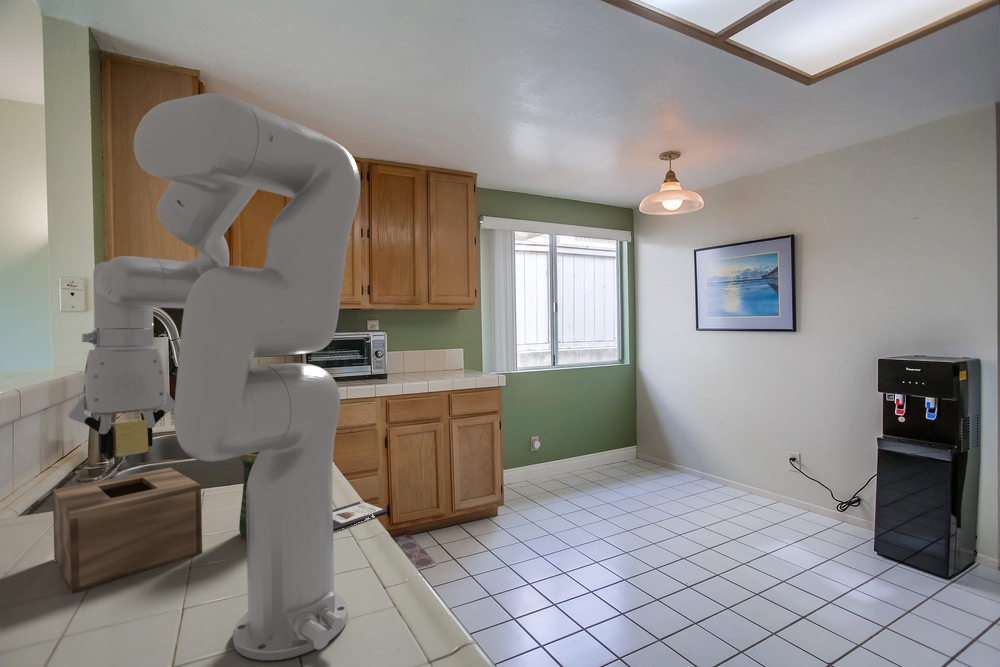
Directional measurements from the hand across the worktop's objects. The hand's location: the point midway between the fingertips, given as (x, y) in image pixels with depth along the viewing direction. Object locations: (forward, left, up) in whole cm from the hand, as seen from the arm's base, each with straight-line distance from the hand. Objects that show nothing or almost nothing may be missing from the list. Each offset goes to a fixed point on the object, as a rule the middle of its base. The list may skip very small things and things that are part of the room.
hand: (126, 453), depth 79 cm
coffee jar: (-8, -19, -17) cm, 27 cm away
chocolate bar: (-13, -29, -17) cm, 36 cm away
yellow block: (-1, 0, 0) cm, 1 cm away
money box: (0, 0, -16) cm, 16 cm away
